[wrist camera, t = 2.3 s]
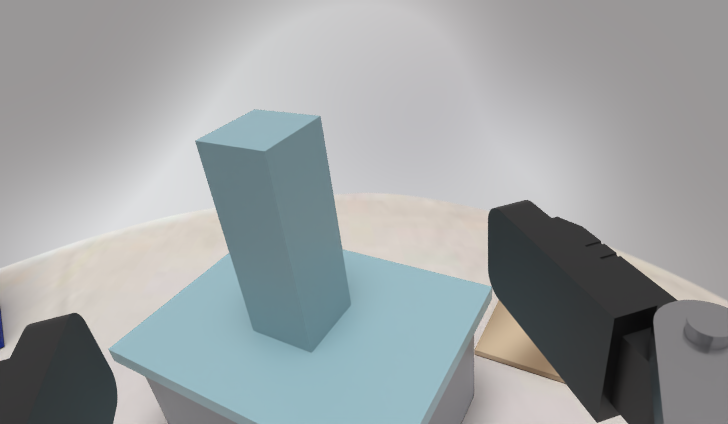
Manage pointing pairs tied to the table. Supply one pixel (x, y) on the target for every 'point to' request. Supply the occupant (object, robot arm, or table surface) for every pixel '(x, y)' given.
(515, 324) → the mat
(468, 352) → the tub
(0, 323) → the milk carton
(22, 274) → the table surface
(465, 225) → the table surface
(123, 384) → the table surface
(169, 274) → the table surface
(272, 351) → the lid
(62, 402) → the robot arm
